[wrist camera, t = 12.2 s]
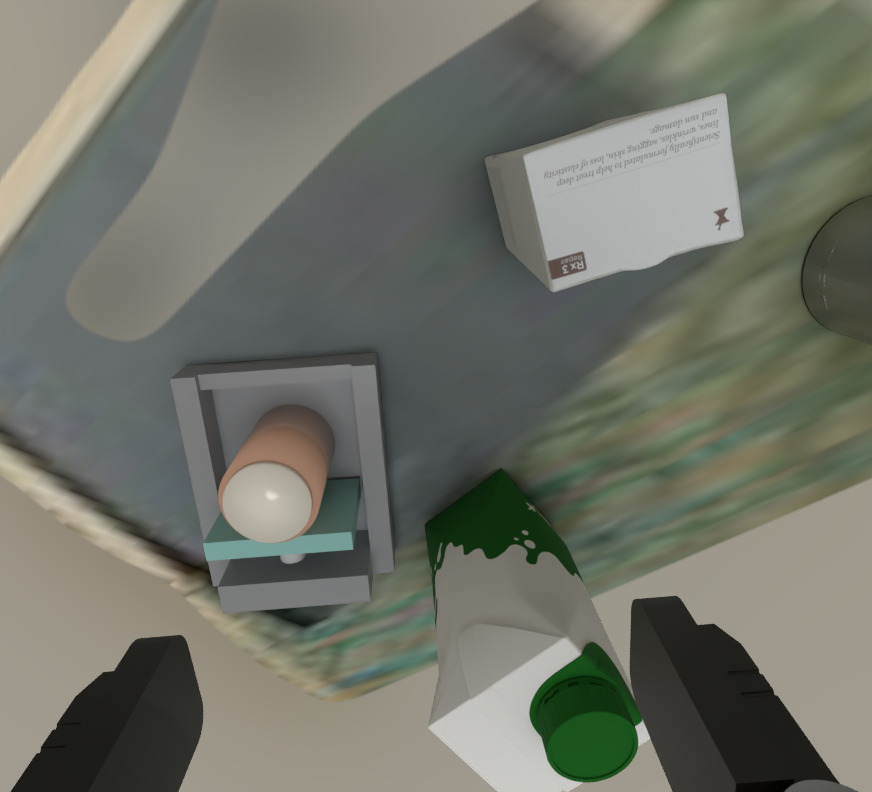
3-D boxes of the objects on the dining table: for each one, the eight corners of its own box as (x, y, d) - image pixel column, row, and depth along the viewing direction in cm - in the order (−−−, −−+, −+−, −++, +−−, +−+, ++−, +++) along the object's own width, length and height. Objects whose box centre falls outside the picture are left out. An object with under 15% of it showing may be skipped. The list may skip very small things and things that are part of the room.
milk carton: (573, 533, 46) (692, 777, 27) (477, 600, 47) (526, 875, 28) (503, 451, 43) (581, 655, 24) (404, 523, 45) (405, 770, 26)
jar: (330, 401, 41) (311, 454, 33) (339, 476, 43) (324, 544, 35) (245, 407, 41) (206, 462, 33) (258, 483, 42) (224, 553, 34)
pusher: (359, 477, 42) (351, 531, 36) (363, 518, 43) (356, 578, 37) (234, 487, 42) (202, 543, 35) (241, 528, 43) (212, 589, 36)
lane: (377, 352, 40) (372, 379, 35) (395, 547, 45) (393, 599, 40) (186, 365, 40) (150, 394, 34) (225, 561, 45) (199, 615, 39)
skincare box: (610, 118, 37) (739, 75, 22) (628, 219, 38) (758, 237, 24) (475, 160, 37) (519, 144, 23) (500, 258, 39) (555, 298, 25)
